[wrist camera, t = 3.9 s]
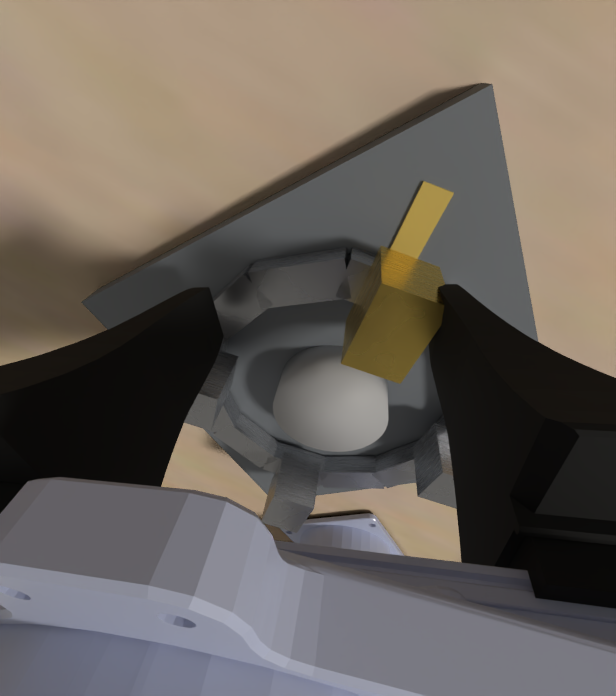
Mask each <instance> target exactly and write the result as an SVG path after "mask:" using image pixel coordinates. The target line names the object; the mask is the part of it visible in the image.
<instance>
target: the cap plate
mask: <svg viewBox="0 0 616 696" xmlns="http://www.w3.org/2000/svg"><path fill="white" fill-rule="evenodd" d="M345 246H347V252H348V257H349V254H350V252H351V249H352V247H354V248H357V249H360V250H363V251H365V252H368V253H371V254H374V255H377V252H378V250H379V248H380V246H384V247H387V248H389V249H392V250H395V251H398V252H400V253H403V254H406V255H408V256H411V257H414V258H417V259H419V260H422V261H425V262H427V263H430V264H433V265H436V266H438V267H440V270H441V273H442V276H443V279H444V282H445V284H446V283H448V284H458V285H459V286H461V287H462V288H463V289H465V290H466V291H467V292H468V293H470V294H471V295H472V296H473V297H474V298H476V299H477V300H478V301H479V302H481V303H482V304H483V305H484V306H486V307H487V308H488V309H489V310H491V311H492V312H493V313H495V314H496V315H497V316H499V317H500V318H501V319H503V320H504V321H506V322H507V323H509V324H510V325H512V326H513V327H515V328H516V329H518V330H519V331H521V332H522V333H524V334H525V335H527V336H529V337H530V338H532V339H534V340H535V341H537V342H538V338H537V332H536V326H535V321H534V315H533V310H532V304H531V298H530V293H529V287H528V282H527V276H526V270H525V265H524V259H523V254H522V248H521V242H520V237H519V231H518V226H517V220H516V215H515V209H514V203H513V198H512V192H511V187H510V181H509V175H508V170H507V164H506V159H505V153H504V147H503V142H502V136H501V131H500V125H499V119H498V114H497V108H496V103H495V97H494V92H493V86H492V84H487V83H480V84H478V85H477V86H475V87H473V88H471V89H469V90H467V91H465V92H464V93H462V94H460V95H458V96H456V97H454V98H452V99H450V100H449V101H447V102H445V103H443V104H441V105H439V106H437V107H436V108H434V109H432V110H430V111H428V112H426V113H424V114H423V115H421V116H419V117H417V118H415V119H413V120H411V121H410V122H408V123H406V124H404V125H402V126H400V127H398V128H397V129H395V130H393V131H391V132H389V133H387V134H385V135H384V136H382V137H380V138H378V139H376V140H374V141H372V142H371V143H369V144H367V145H365V146H363V147H361V148H359V149H358V150H356V151H354V152H352V153H350V154H348V155H346V156H345V157H343V158H341V159H339V160H337V161H335V162H333V163H332V164H330V165H328V166H326V167H324V168H322V169H320V170H319V171H317V172H315V173H313V174H311V175H309V176H307V177H306V178H304V179H302V180H300V181H298V182H296V183H294V184H293V185H291V186H289V187H287V188H285V189H283V190H281V191H279V192H278V193H276V194H274V195H272V196H270V197H268V198H266V199H265V200H263V201H261V202H259V203H257V204H255V205H253V206H252V207H250V208H248V209H246V210H244V211H242V212H240V213H239V214H237V215H235V216H233V217H231V218H229V219H227V220H226V221H224V222H222V223H220V224H218V225H216V226H214V227H213V228H211V229H209V230H207V231H205V232H203V233H201V234H200V235H198V236H196V237H194V238H192V239H190V240H188V241H187V242H185V243H183V244H181V245H179V246H177V247H175V248H174V249H172V250H170V251H168V252H166V253H164V254H162V255H161V256H159V257H157V258H155V259H153V260H151V261H149V262H148V263H146V264H144V265H142V266H140V267H138V268H136V269H135V270H133V271H131V272H129V273H127V274H125V275H123V276H121V277H120V278H118V279H116V280H114V281H112V282H110V283H108V284H107V285H105V286H103V287H101V288H99V289H97V290H96V291H95V292H94V293H92V294H91V295H90V296H89V297H87V298H86V299H85V300H84V301H82V303H83V304H84V305H85V307H86V308H87V309H88V310H89V311H90V312H91V313H92V314H93V315H94V316H95V317H96V318H97V319H98V320H99V321H100V322H101V323H102V324H103V325H104V326H105V327H106V328H107V329H110V328H113V327H115V326H117V325H119V324H121V323H123V322H125V321H127V320H129V319H131V318H133V317H135V316H137V315H139V314H141V313H143V312H144V311H146V310H148V309H150V308H152V307H154V306H156V305H157V304H159V303H161V302H163V301H165V300H167V299H169V298H171V297H172V296H174V295H176V294H178V293H181V292H183V291H185V290H187V289H190V288H197V287H209V288H210V291H211V295H212V298H213V297H214V296H215V295H216V294H217V293H218V292H220V291H221V290H222V289H223V288H224V287H225V286H226V285H227V284H228V283H229V282H231V281H232V280H233V279H234V278H235V277H236V276H237V275H238V274H239V273H240V272H241V271H243V270H244V269H245V268H246V267H247V266H248V265H249V264H250V263H252V264H254V262H255V261H256V260H262V259H268V258H275V257H281V256H288V255H294V254H300V253H307V252H313V251H319V250H326V249H332V248H339V247H345ZM353 304H354V303H352V302H349V301H347V300H344V299H341V300H333V301H324V302H316V303H307V304H299V305H290V306H282V307H274V308H268V309H266V310H265V311H264V312H263V313H261V314H260V315H259V316H258V317H256V318H255V319H254V320H252V321H251V322H250V323H249V324H247V325H246V326H245V327H243V328H242V329H241V330H240V331H238V332H237V333H236V334H234V335H233V336H232V337H231V338H229V340H228V344H227V349H226V353H229V354H232V355H235V356H238V360H237V365H236V369H235V373H234V377H233V381H232V386H231V389H230V392H231V394H232V396H233V398H234V400H235V402H236V404H237V406H238V408H239V410H240V413H241V414H243V415H244V416H245V417H247V418H248V419H249V420H251V421H252V422H253V423H254V424H256V425H257V426H258V427H260V428H261V429H262V430H264V431H265V432H266V433H268V434H269V435H270V436H271V437H273V438H274V439H275V440H277V441H278V442H281V443H284V444H287V445H290V446H294V447H297V448H300V449H303V450H306V451H309V452H312V453H316V454H319V455H322V456H325V457H343V456H378V455H380V454H383V453H386V452H388V451H391V450H394V449H396V448H399V447H402V446H405V445H407V444H410V443H413V442H415V441H418V440H419V439H420V438H421V437H422V436H423V435H424V434H425V433H426V431H427V430H428V429H429V428H430V427H431V426H432V425H433V423H434V422H437V421H438V420H439V419H440V417H441V416H442V415H443V412H442V409H441V405H440V401H439V397H438V393H437V389H436V385H435V381H434V377H433V373H432V369H431V363H430V354H429V344H428V345H427V346H426V348H425V349H424V351H423V352H422V354H421V355H420V357H419V358H418V359H417V361H416V362H415V364H414V365H413V367H412V368H411V369H410V371H409V372H408V374H407V375H406V377H405V378H404V380H403V381H402V382H401V384H399V383H396V382H393V381H390V380H387V379H384V378H381V377H378V376H375V375H372V374H369V373H366V372H363V371H361V370H358V369H355V368H352V367H349V366H346V365H343V364H341V358H342V350H343V342H344V333H345V325H346V319H347V317H348V315H349V312H350V310H351V308H352V306H353ZM204 430H205V431H206V432H207V433H208V434H209V435H210V436H211V437H212V438H213V439H214V440H215V441H216V442H217V443H218V444H219V445H220V446H221V447H222V448H223V449H224V450H225V451H226V452H227V453H228V454H229V455H230V456H231V458H232V459H233V460H234V461H235V462H236V463H237V464H238V465H239V466H240V467H241V468H242V469H243V470H244V471H245V472H246V473H247V474H248V475H249V476H250V477H251V478H252V479H253V480H254V481H255V482H256V483H257V484H258V485H259V486H260V487H261V489H262V490H263V491H264V492H265V493H266V494H267V495H268V492H269V488H270V484H271V480H272V477H273V475H274V472H270V471H267V470H264V469H263V467H264V466H262V467H260V468H259V467H258V466H257V465H255V464H254V463H252V462H251V461H250V460H248V459H247V458H245V457H244V456H243V455H241V454H240V453H238V452H237V451H235V450H234V449H233V448H231V447H230V446H228V445H227V444H226V443H224V442H223V441H221V440H220V439H218V438H217V437H216V436H214V435H213V434H214V432H210V430H207V429H204ZM408 483H416V479H415V480H412V481H409V482H405V483H402V484H408ZM399 485H400V484H399ZM384 487H385V486H384ZM362 489H370V488H326V487H323V485H322V484H321V485H320V487H318V486H317V490H316V495H324V494H331V493H339V492H347V491H354V490H362Z"/></svg>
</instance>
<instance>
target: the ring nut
mask: <svg viewBox="0 0 616 696" xmlns="http://www.w3.org/2000/svg"><path fill="white" fill-rule="evenodd" d="M446 284H448V283H446ZM443 285H445V282H444V279H443V276H442V273H441V270H440V267H438V266H436V265H433V264H430V263H427V262H425V261H422V260H419V259H417V258H414V257H411V256H408V255H406V254H403V253H400V252H398V251H395V250H392V249H389V248H387V247H384V246H380V248H379V250H378V252H377V255H374V254H371V253H368V252H365V251H363V250H360V249H357V248H354V247H352V249H351V252H350V254H349V257H348V252H347V246H345V247H339V248H332V249H326V250H319V251H313V252H307V253H300V254H294V255H288V256H281V257H275V258H268V259H262V260H256V261H255V262H254V264H252V263H250V264H249V265H248V266H247V267H246V268H245V269H244V270H243V271H241V272H240V273H239V274H238V275H237V276H236V277H235V278H234V279H233V280H232V281H231V282H229V283H228V284H227V285H226V286H225V287H224V288H223V289H222V290H221V291H220V292H218V293H217V294H216V295H215V296H214V297H213V301H214V305H215V308H216V312H217V315H218V318H219V322H220V325H221V328H222V332H223V335H224V338H223V341H222V344H221V347H220V350H219V353H218V356H217V359H216V361H215V363H214V365H213V367H212V369H211V371H210V373H209V375H208V377H207V379H206V380H205V382H204V384H203V386H202V388H201V390H200V392H199V393H198V395H197V397H196V399H195V401H194V403H193V405H192V407H191V408H190V410H189V412H188V415H187V417H186V419H185V421H184V423H188V424H191V425H194V426H197V427H200V428H203V429H207V430H210V432H214V434H213V435H214V436H216V437H217V438H218V439H220V440H221V441H223V442H224V443H226V444H227V445H228V446H230V447H231V448H233V449H234V450H235V451H237V452H238V453H240V454H241V455H243V456H244V457H245V458H247V459H248V460H250V461H251V462H252V463H254V464H255V465H257V466H258V467H259V468H260V467H262V466H264V467H263V469H264V470H267V471H270V472H274V475H273V477H272V480H271V484H270V488H269V492H268V496H267V499H266V503H265V507H264V511H263V515H262V519H261V521H262V522H263V523H265V524H268V525H271V526H275V527H278V528H281V529H285V530H288V531H291V532H295V533H297V532H298V531H299V529H300V528H301V526H302V525H303V523H304V522H305V520H306V519H307V518H308V516H309V515H310V513H311V512H312V510H313V509H314V504H315V497H316V490H317V486H318V487H320V485H321V484H322V485H323V487H326V488H380V489H384V486H386V487H387V488H389V487H393V486H396V485H399V484H402V483H405V482H409V481H412V480H415V479H416V484H417V494H418V497H421V498H425V499H428V500H431V501H434V502H437V503H440V504H444V505H447V506H450V507H453V508H456V509H457V506H456V497H455V488H454V480H453V471H452V463H451V456H450V448H449V440H448V434H447V429H446V424H445V420H444V416H443V415H442V416H441V417H440V419H439V420H438V421H437V422H434V423H433V425H432V426H431V427H430V428H429V429H428V430H427V431H426V433H425V434H424V435H423V436H422V437H421V438H420V439H419V440H418V441H415V442H413V443H410V444H407V445H405V446H402V447H399V448H396V449H394V450H391V451H388V452H386V453H383V454H380V455H378V456H343V457H325V456H322V455H319V454H316V453H312V452H309V451H306V450H303V449H300V448H297V447H294V446H290V445H287V444H284V443H281V442H278V441H277V440H275V439H274V438H273V437H271V436H270V435H269V434H268V433H266V432H265V431H264V430H262V429H261V428H260V427H258V426H257V425H256V424H254V423H253V422H252V421H251V420H249V419H248V418H247V417H245V416H244V415H243V414H241V413H240V410H239V408H238V406H237V404H236V402H235V400H234V398H233V396H232V394H231V392H230V389H231V386H232V381H233V377H234V373H235V369H236V365H237V360H238V356H235V355H232V354H229V353H226V349H227V344H228V340H229V338H231V337H232V336H233V335H234V334H236V333H237V332H238V331H240V330H241V329H242V328H243V327H245V326H246V325H247V324H249V323H250V322H251V321H252V320H254V319H255V318H256V317H258V316H259V315H260V314H261V313H263V312H264V311H265V310H266V309H268V308H274V307H282V306H290V305H299V304H307V303H316V302H324V301H333V300H341V299H344V300H347V301H349V302H352V303H354V304H353V306H352V308H351V310H350V312H349V315H348V317H347V319H346V325H345V333H344V342H343V350H342V358H341V364H343V365H346V366H349V367H352V368H355V369H358V370H361V371H363V372H366V373H369V374H372V375H375V376H378V377H381V378H384V379H387V380H390V381H393V382H396V383H399V384H401V382H402V381H403V380H404V378H405V377H406V375H407V374H408V372H409V371H410V369H411V368H412V367H413V365H414V364H415V362H416V361H417V359H418V358H419V357H420V355H421V354H422V352H423V351H424V349H425V348H426V346H427V345H428V344H429V342H430V341H431V339H432V338H433V336H434V335H435V333H436V332H437V331H438V329H439V328H440V326H441V323H442V317H443V311H444V303H443V301H442V299H441V296H440V292H439V289H438V287H440V286H443Z"/></svg>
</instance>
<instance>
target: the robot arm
mask: <svg viewBox="0 0 616 696" xmlns="http://www.w3.org/2000/svg"><path fill="white" fill-rule="evenodd" d="M438 289H439V292H440V296H441V299H442V301H443V303H444V311H443V317H442V323H441V326H440V328H439V329H438V331H437V332H436V333H435V335H434V336H433V338H432V339H431V341H430V342H429V354H430V363H431V369H432V373H433V377H434V381H435V385H436V389H437V393H438V397H439V401H440V405H441V409H442V412H443V416H444V420H445V424H446V429H447V434H448V440H449V448H450V456H451V463H452V471H453V480H454V488H455V497H456V506H457V516H458V526H459V536H460V548H461V560H462V563H461V562H452V561H444V560H436V559H427V558H419V557H410V556H404V554H403V553H402V552H401V550H400V549H399V547H398V546H397V545H396V543H395V542H394V541H393V539H392V538H391V536H390V535H389V534H388V532H387V531H386V529H385V528H384V527H383V525H382V524H381V523H380V521H379V520H378V518H377V517H376V516H375V515H374V514H370V513H366V514H356V515H346V516H336V517H326V518H316V519H307V520H305V522H304V523H303V525H302V526H301V528H300V529H299V531H298V532H297V533H295V532H291V531H288V530H285V529H281V528H280V529H281V530H282V531H283V532H284V533H285V534H286V535H287V536H288V537H289V538H290V539H291V540H292V541H293V542H294V543H293V542H285V541H277V540H274V539H273V536H272V534H271V533H270V531H269V530H268V528H267V527H266V526H265V524H264V523H263V522H262V521H261V520H260V518H259V517H258V516H257V515H256V514H255V512H253V511H251V510H249V509H247V508H245V507H244V506H242V505H240V504H238V503H236V502H234V501H232V500H230V499H229V498H226V497H222V496H218V495H213V494H209V493H205V492H201V491H196V490H188V489H178V488H168V487H161V485H162V482H163V478H164V475H165V472H166V469H167V466H168V463H169V461H170V458H171V455H172V452H173V449H174V446H175V444H176V441H177V439H178V436H179V434H180V431H181V428H182V426H183V423H184V421H185V419H186V417H187V415H188V412H189V410H190V408H191V407H192V405H193V403H194V401H195V399H196V397H197V395H198V393H199V392H200V390H201V388H202V386H203V384H204V382H205V380H206V379H207V377H208V375H209V373H210V371H211V369H212V367H213V365H214V363H215V361H216V359H217V356H218V353H219V350H220V347H221V344H222V341H223V338H224V335H223V332H222V328H221V325H220V322H219V318H218V315H217V312H216V308H215V305H214V301H213V298H212V295H211V291H210V288H209V287H197V288H190V289H187V290H185V291H183V292H181V293H178V294H176V295H174V296H172V297H171V298H169V299H167V300H165V301H163V302H161V303H159V304H157V305H156V306H154V307H152V308H150V309H148V310H146V311H144V312H143V313H141V314H139V315H137V316H135V317H133V318H131V319H129V320H127V321H125V322H123V323H121V324H119V325H117V326H115V327H113V328H110V329H108V330H106V331H104V332H101V333H99V334H97V335H94V336H92V337H89V338H87V339H85V340H82V341H80V342H77V343H74V344H71V345H68V346H65V347H62V348H60V349H57V350H54V351H51V352H48V353H45V354H42V355H39V356H35V357H32V358H28V359H25V360H21V361H18V362H14V363H10V364H6V365H2V366H0V696H616V378H614V377H612V376H609V375H607V374H604V373H602V372H599V371H597V370H594V369H592V368H590V367H588V366H585V365H583V364H581V363H579V362H576V361H574V360H572V359H570V358H568V357H566V356H564V355H562V354H559V353H557V352H555V351H554V350H552V349H550V348H548V347H546V346H544V345H543V344H541V343H539V342H537V341H535V340H534V339H532V338H530V337H529V336H527V335H525V334H524V333H522V332H521V331H519V330H518V329H516V328H515V327H513V326H512V325H510V324H509V323H507V322H506V321H504V320H503V319H501V318H500V317H499V316H497V315H496V314H495V313H493V312H492V311H491V310H489V309H488V308H487V307H486V306H484V305H483V304H482V303H481V302H479V301H478V300H477V299H476V298H474V297H473V296H472V295H471V294H470V293H468V292H467V291H466V290H465V289H463V288H462V287H461V286H459V285H458V284H445V285H443V286H440V287H438Z"/></svg>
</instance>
